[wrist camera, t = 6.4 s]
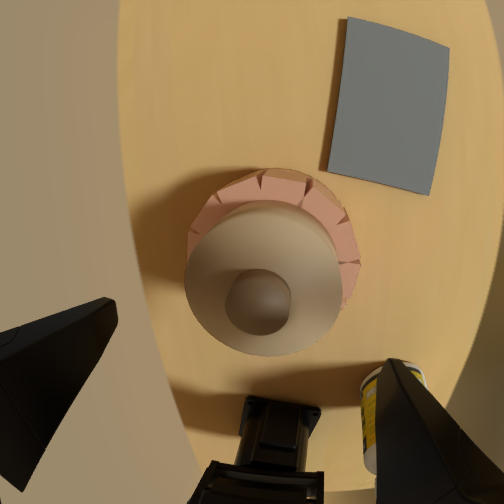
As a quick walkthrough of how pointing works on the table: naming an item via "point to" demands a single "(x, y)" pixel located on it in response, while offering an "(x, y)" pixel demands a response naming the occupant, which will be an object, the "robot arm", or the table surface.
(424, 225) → the table surface
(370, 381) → the supplement bottle
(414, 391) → the robot arm
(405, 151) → the mat
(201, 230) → the pink notched ring
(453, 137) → the table surface
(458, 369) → the table surface
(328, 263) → the lid
